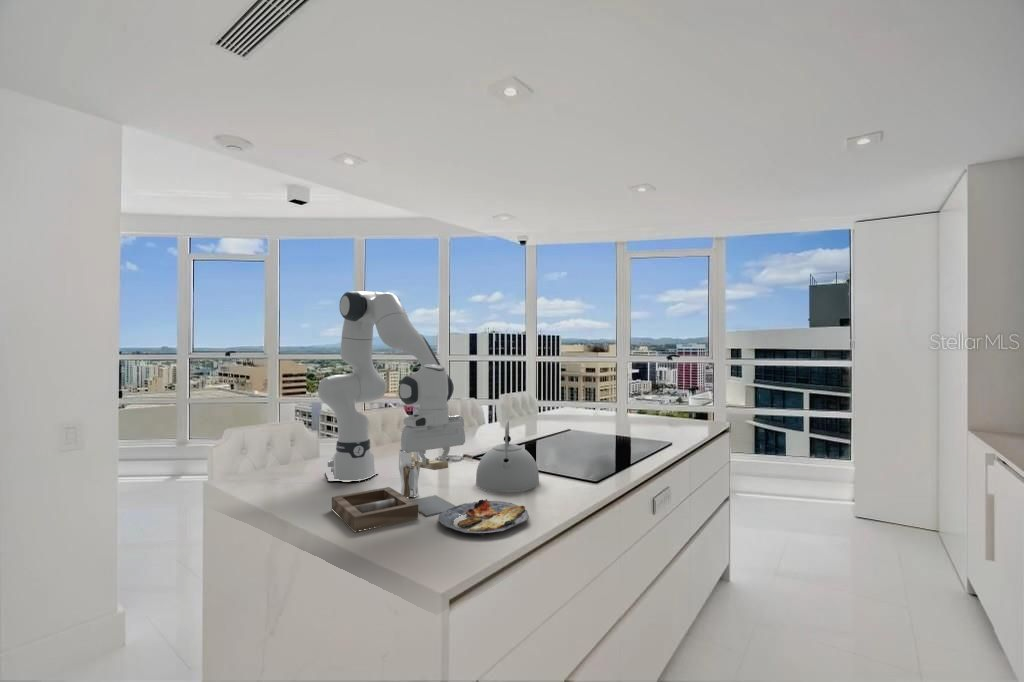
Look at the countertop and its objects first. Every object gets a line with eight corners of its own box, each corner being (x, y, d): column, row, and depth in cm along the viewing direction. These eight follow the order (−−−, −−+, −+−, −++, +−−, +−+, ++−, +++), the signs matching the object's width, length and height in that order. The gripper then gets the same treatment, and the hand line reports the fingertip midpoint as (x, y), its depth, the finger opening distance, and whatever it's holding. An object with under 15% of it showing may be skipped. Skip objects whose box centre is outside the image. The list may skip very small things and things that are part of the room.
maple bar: (415, 466, 157) (414, 460, 157) (427, 464, 159) (427, 458, 159) (434, 470, 145) (434, 463, 145) (448, 467, 148) (447, 461, 148)
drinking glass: (399, 499, 158) (399, 452, 159) (398, 493, 165) (398, 448, 165) (421, 497, 160) (421, 451, 161) (419, 491, 167) (419, 447, 167)
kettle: (540, 494, 163) (539, 426, 164) (472, 494, 164) (471, 426, 164) (538, 475, 188) (537, 415, 189) (478, 475, 189) (478, 416, 189)
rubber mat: (404, 502, 155) (404, 501, 155) (435, 496, 162) (435, 495, 162) (426, 516, 142) (426, 515, 142) (459, 509, 149) (459, 507, 149)
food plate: (484, 502, 155) (483, 490, 155) (544, 518, 141) (544, 506, 141) (422, 527, 136) (422, 514, 136) (485, 549, 121) (484, 534, 121)
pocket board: (331, 510, 148) (331, 497, 148) (389, 499, 159) (389, 486, 159) (355, 532, 130) (355, 517, 130) (418, 518, 141) (418, 504, 141)
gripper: (458, 413, 159) (459, 456, 159) (398, 419, 147) (398, 466, 147) (468, 415, 154) (469, 460, 154) (407, 422, 142) (407, 470, 142)
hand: (434, 463), depth 150 cm, fingers closed on maple bar, 4 cm apart
